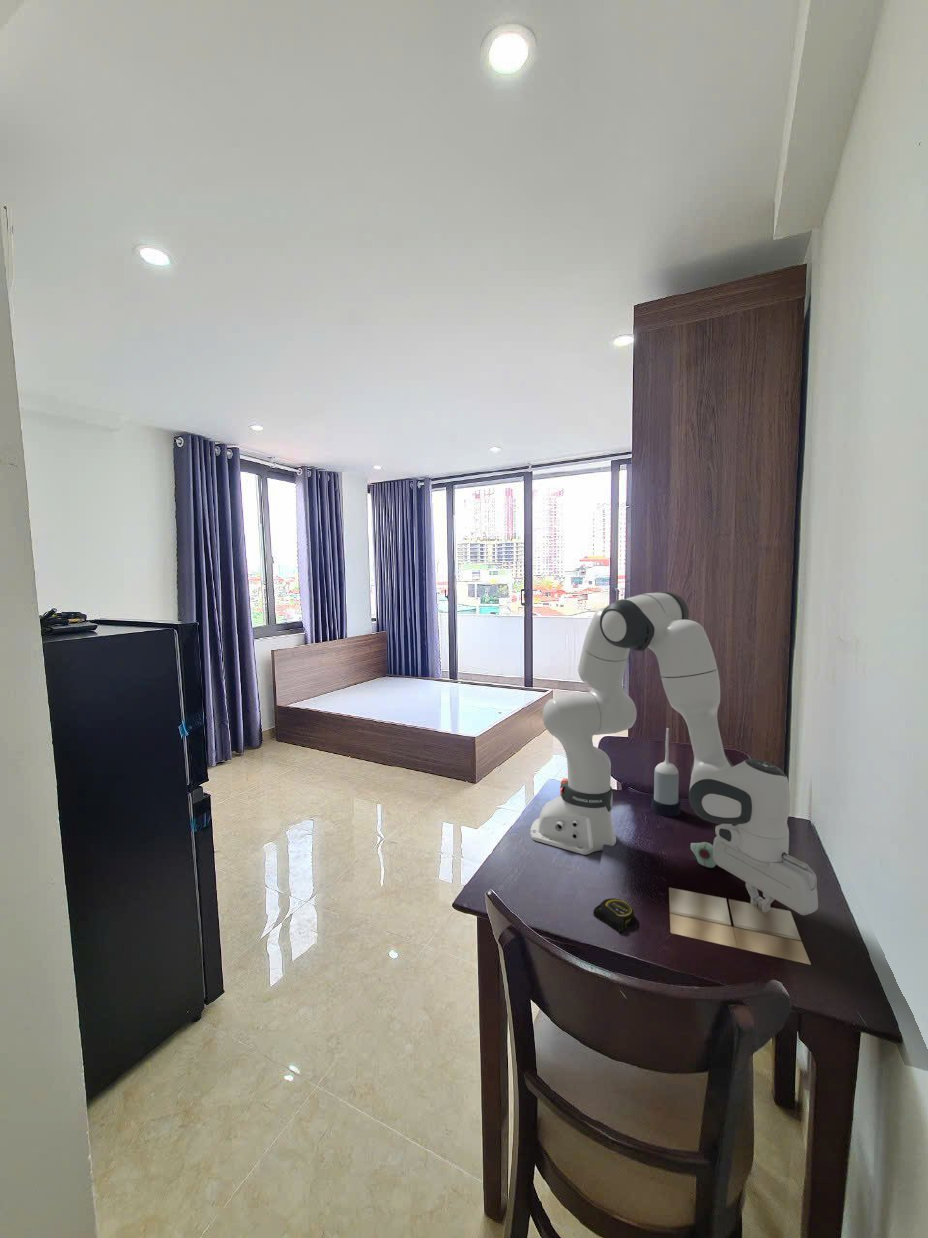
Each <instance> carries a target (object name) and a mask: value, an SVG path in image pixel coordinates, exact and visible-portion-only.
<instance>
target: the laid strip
mask: <svg viewBox="0 0 928 1238" xmlns="http://www.w3.org/2000/svg"><path fill="white" fill-rule="evenodd" d="M669 927H670V930H669V931H670V934H674V935H678V936H682V937H687V938H691V939H696V940H701V941H705V942H709V943H713V944H716V945H717V944H718V945H722V946H726V947H731V948H735V949H739V950H744V951H748V952H752V953H757V954H761V955H766V956H769V957H774V958H779V959H783V960H787V961H793V962H797V963H802V964H806V965H809V966H810V965H812V964H811V961H810V959H809V956H808V954H807V951H806V949H805V947H804V944H803V941H802V940H801V941H800V940H795V939H790V938H786V937H781V936H776V935H772V934H767V933H762V932H758V931H753V930H748V929H744V928H739V927H734V926H732V925H731V926H729V925H725V924H720V923H715V922H711V921H706V920H701V919H697V918H692V917H687V916H683V915H678V914H673V913H669Z"/></svg>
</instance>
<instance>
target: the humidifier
mask: <svg viewBox="0 0 928 1238" xmlns="http://www.w3.org/2000/svg"><path fill="white" fill-rule="evenodd" d="M665 729H666V730H665V744H664V745H665V757H664V758H665V759H664V761H663V762H659V763H658V764H657V765H656V766H655V767H654V775H653V777H654V778H653V782H654V783H653V797H652V798H651V804H650V807H651V809H650V810H651V811H653V813H655V814H657V815H659V816H662V817H671V818H673V817H674V818H675V817H678V816H679V815H681V812H682V810H681V809H682V807H681V806H682V805H681V801H680V800H679V785H680V784H679V782H680V781H679V778H680V776H679V775H680V774H679V769H678V768H677V767H676V766H675V765H674V764H673V763H671V762H670V761H669V753H670V750H669V748H670V747H669V743H670V742H669V740H670V733H669V732H670V728H668V727H666V728H665Z"/></svg>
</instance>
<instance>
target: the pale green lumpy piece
mask: <svg viewBox="0 0 928 1238" xmlns="http://www.w3.org/2000/svg"><path fill="white" fill-rule="evenodd" d="M690 851H692V853H693V854H694V856H695V857H696V860H697V863H698V864H699V865H701V866H703V867H705V868H711V869H712V868H715V867H716V866H717V865H716V863H715V861H714V859H713V844H711V843H710V842H707V841H706V842H705V841H702V842H691V843H690Z"/></svg>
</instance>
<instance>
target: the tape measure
mask: <svg viewBox="0 0 928 1238" xmlns="http://www.w3.org/2000/svg"><path fill="white" fill-rule="evenodd" d="M592 913H593V917H595V918H596V919H598V920H600V921H602V922H604V923H605V924H606V925H607V926H609V927H611V929H613V930H616V931H617V932H618V933H619V934H621V933H623V931H626V929H627V928H628V927H630V926H633V925H635V924H636V916H635V912H634V908H633V907H632V906H631V904H629V903H627V902H626V901H625V900H622V899H619V898H613V897H612V898H611V897H610V898H606V899H604V900H602V901H601V902H600V904H598V905H597V906H596V907H594V908H593V912H592Z"/></svg>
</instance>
